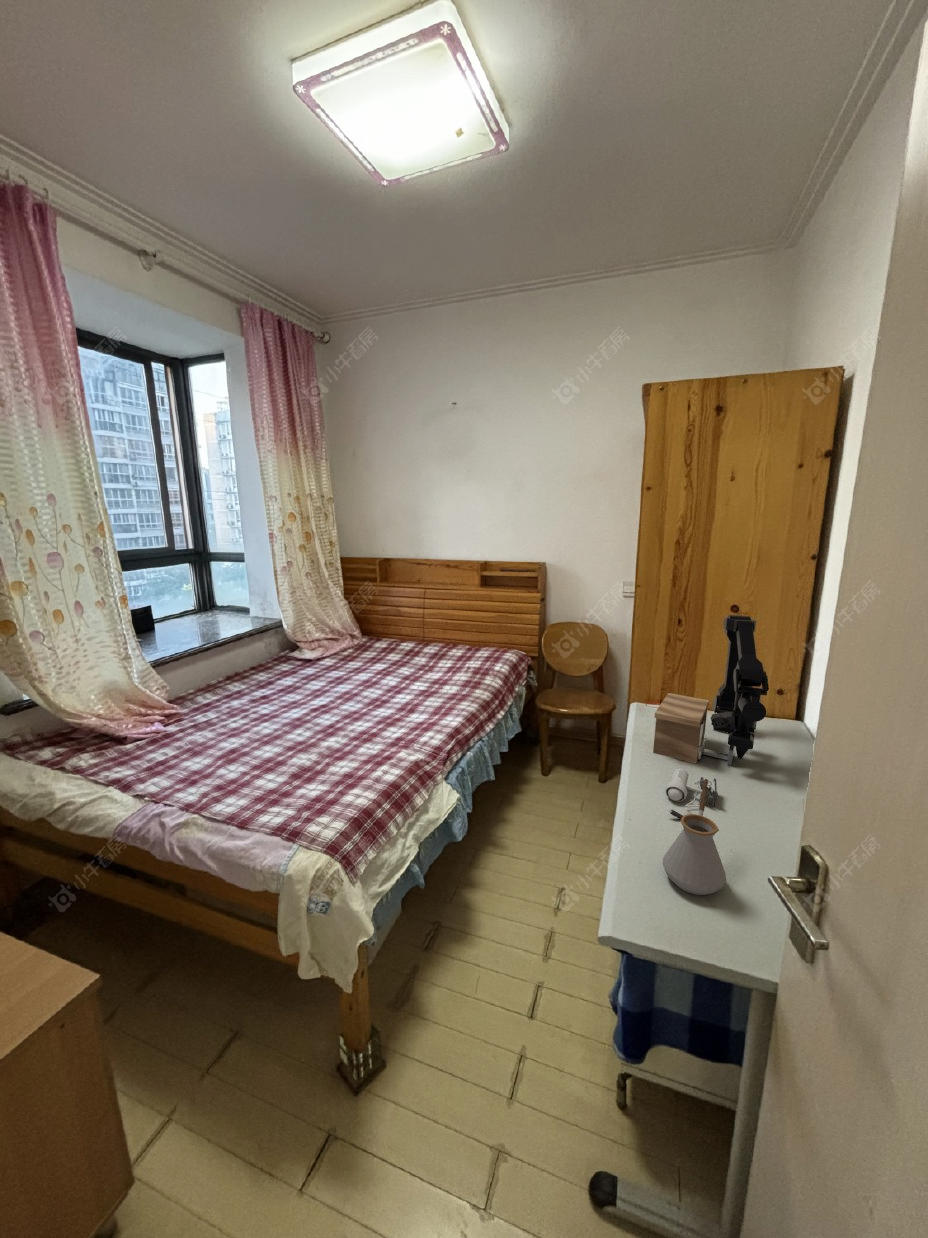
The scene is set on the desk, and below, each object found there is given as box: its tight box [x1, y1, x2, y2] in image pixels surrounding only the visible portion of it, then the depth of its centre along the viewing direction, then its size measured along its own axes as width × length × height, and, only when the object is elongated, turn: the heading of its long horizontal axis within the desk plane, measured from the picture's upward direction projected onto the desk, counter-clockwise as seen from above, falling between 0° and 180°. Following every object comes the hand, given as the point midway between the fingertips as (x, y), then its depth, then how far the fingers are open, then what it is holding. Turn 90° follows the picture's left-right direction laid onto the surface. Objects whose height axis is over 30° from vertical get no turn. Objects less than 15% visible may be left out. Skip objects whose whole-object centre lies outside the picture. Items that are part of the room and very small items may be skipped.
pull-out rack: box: [697, 737, 736, 766], centre depth 152 cm, size 11×17×4 cm, turn 57°
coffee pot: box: [662, 778, 727, 896], centre depth 102 cm, size 21×12×15 cm, turn 150°
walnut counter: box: [652, 692, 710, 764], centre depth 154 cm, size 20×12×14 cm, turn 147°
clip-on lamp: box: [664, 767, 719, 821], centre depth 125 cm, size 12×6×18 cm
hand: (739, 758), depth 147 cm, fingers closed, pressing on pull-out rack
